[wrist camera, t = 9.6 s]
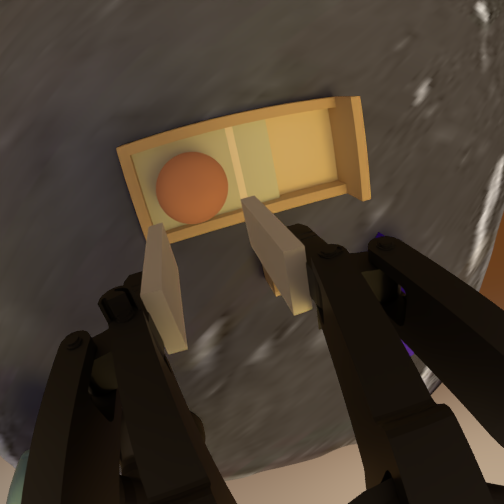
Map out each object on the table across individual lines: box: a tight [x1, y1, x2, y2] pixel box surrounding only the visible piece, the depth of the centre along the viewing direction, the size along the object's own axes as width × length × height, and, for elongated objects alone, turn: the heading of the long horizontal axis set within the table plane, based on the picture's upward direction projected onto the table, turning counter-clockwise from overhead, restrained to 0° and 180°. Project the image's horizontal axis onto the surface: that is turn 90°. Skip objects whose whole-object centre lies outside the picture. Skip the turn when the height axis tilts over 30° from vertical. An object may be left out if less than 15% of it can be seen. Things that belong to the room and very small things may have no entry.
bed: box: [116, 96, 371, 244], centre depth 28 cm, size 22×10×5 cm, turn 101°
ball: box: [156, 152, 228, 224], centre depth 26 cm, size 6×6×6 cm
